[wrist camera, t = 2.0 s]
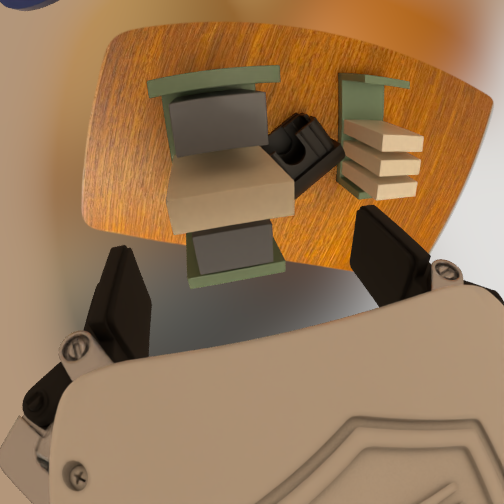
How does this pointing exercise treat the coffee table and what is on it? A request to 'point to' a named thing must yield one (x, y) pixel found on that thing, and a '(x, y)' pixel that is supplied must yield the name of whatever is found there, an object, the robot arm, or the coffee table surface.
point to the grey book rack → (216, 139)
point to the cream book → (227, 189)
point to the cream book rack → (374, 141)
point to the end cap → (303, 150)
